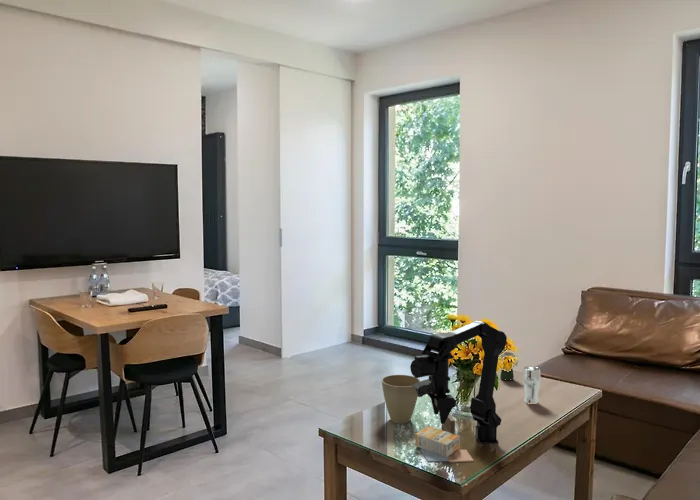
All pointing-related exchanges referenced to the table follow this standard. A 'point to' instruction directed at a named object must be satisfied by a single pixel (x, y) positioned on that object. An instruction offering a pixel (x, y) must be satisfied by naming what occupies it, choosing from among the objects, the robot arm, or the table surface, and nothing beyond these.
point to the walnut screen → (449, 425)
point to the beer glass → (531, 383)
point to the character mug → (509, 374)
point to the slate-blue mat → (434, 456)
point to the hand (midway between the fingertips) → (439, 418)
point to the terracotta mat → (460, 456)
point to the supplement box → (437, 441)
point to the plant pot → (400, 397)
